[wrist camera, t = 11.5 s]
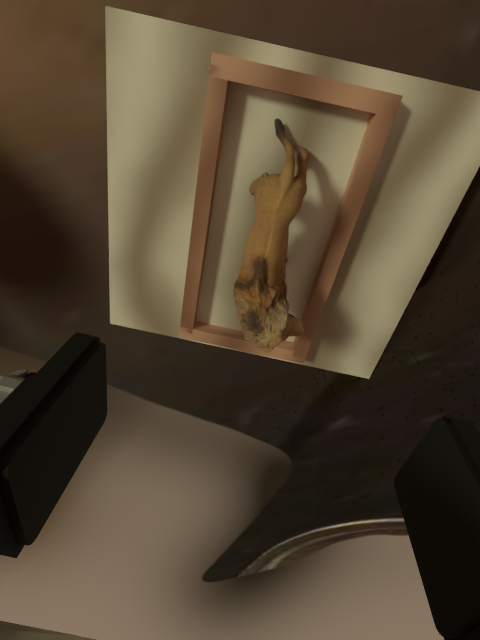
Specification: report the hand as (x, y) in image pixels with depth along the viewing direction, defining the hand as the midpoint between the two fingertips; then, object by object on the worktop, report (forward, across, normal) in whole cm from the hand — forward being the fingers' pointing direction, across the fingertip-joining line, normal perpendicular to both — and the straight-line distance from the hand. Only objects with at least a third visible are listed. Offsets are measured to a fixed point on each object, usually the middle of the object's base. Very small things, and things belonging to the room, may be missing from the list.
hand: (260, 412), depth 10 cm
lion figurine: (+16, 0, -1) cm, 16 cm away
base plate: (+17, 0, 0) cm, 17 cm away
